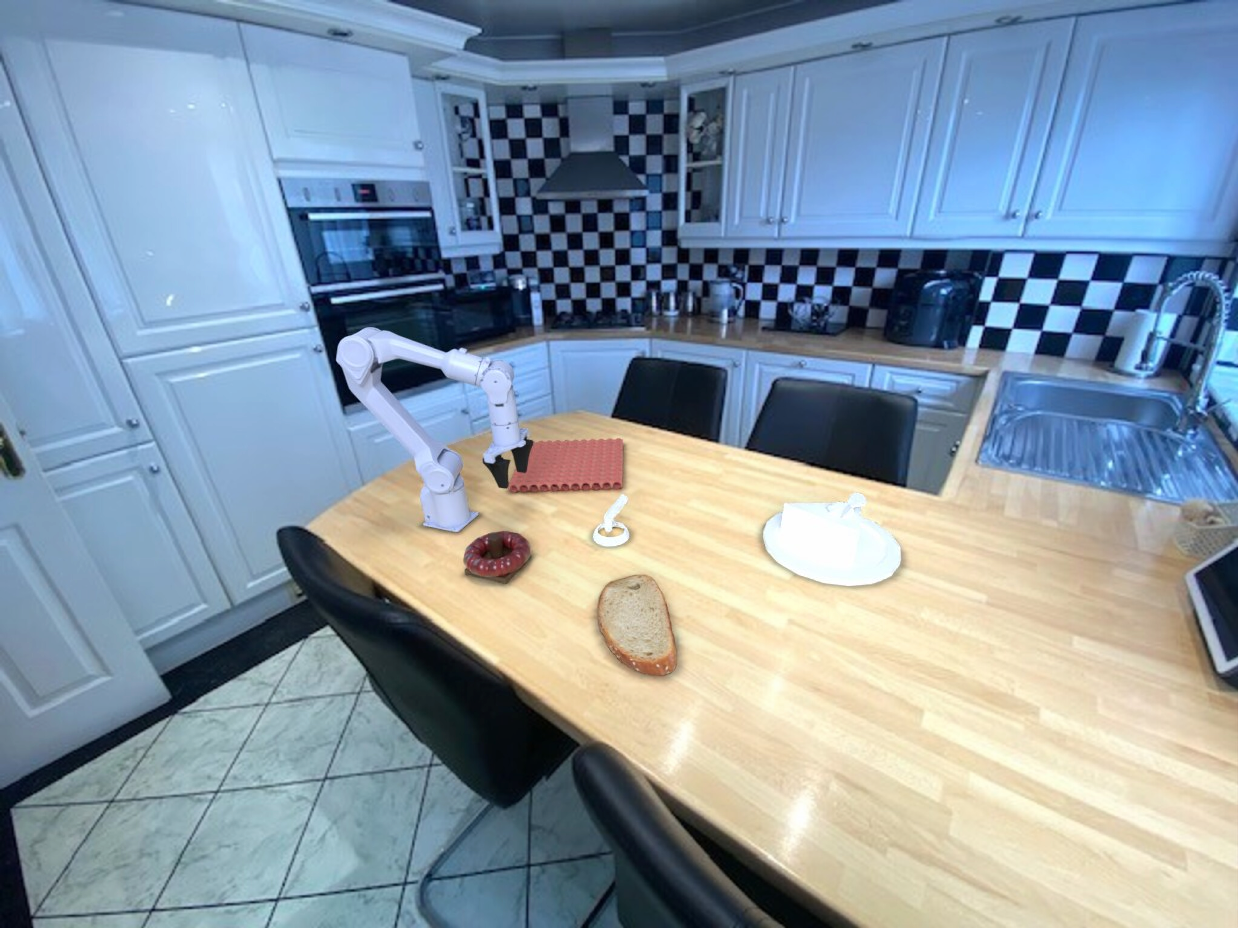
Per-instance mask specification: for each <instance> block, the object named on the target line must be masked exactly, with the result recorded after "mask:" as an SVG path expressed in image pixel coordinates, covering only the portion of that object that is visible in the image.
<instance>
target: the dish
mask: <svg viewBox="0 0 1238 928" xmlns="http://www.w3.org/2000/svg"><path fill="white" fill-rule="evenodd" d="M866 505H867V498H866V497H865V495H864V494H862V493H860V492H852V493H850V495H849V497H848V499H847V501H846V502H845V501H836V502H835V501H833V502H784V503H783V507H782V511H781V512H778V513H776V514H775V515H773V516H772V517H771V518H770V519H768V520H767V521H766V523H765V526H764V528H763V532H762V540H763V541H762V542H763V544H764V546H765V550H766V552H767V553H768V554H769V555H770V556H771V557H772V558H773V560H775V561H776V562H777V564H779V565H781V566H782V567H783V568H786V569H788V570H790V571H791V572H792V573H795V574H796V575H798V576H801V577H803V578H807V579H811V580H813V581H816V582H819V583H822V584H829V585H838V586H845V587H854V586H865V585H874V584H877V583H880V582H881V581H883V580H886V579H888V578H891V577H892V576H893V574H894V573H895V572H896V570H897V569H898V568H899V567H900V565H901V561H902V553H901V546H900V544H899V543H898V542H897V540H896V539H895V537H894V536H893V534H892V533H891V532H890V531H888V530H886V529H885V528H884V527H882V526H881V525H879V524H878V523H877V522H875V521H872V520H870V519H868V518H866V517H864V516H862V507H866Z"/></svg>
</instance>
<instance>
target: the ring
mask: <svg viewBox="0 0 1238 928" xmlns="http://www.w3.org/2000/svg"><path fill="white" fill-rule="evenodd" d="M492 533H499V534H500V535H501V541H502V547H506V548H511V549H513V551H512V552H511V553H510V554H509V555H506V556H504V557H502V558H497V559H486V558H482V555H483V554H484V553H485V552H487V551H490V549H489V543H488V536H489V535H490V534H492ZM530 553H531V543H530V541H529V540H528V539H527V538H526V537H525V536H524V535H522V534H521V533H518V532H513V531H509V530H501V531H500V530H499V531H492V532H489V533H487V534H484V535H481V536H479V537H477V538H475V539H474V540H472V542H471V543H469V544H468V546H466V548H465V550H464V553H463V560H462V561H463V565H464V566H465V568H468V569H469V570H470V572H471V573H473V574H476V575H480V576H484V577H495V576H503V575H507V574H509V573H511V572H513V571H515V570H517V569H519V568H520V567H521V566H522V565H523V564H524V563H525V562H526V561H527V562H528V561H529V559H530V558H531V557H530ZM529 557H530V558H529ZM527 562H526V563H527ZM526 563H525V564H526ZM525 564H524V565H525ZM524 565H523V566H524ZM523 566H522V567H523ZM522 567H521V568H522ZM521 568H520V569H521ZM520 569H519V570H520Z"/></svg>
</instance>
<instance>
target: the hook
mask: <svg viewBox="0 0 1238 928" xmlns="http://www.w3.org/2000/svg"><path fill="white" fill-rule="evenodd" d="M628 503H629V498H628V496H627V495H626V494H624V493H622V494H621V495H619V497H618V498H617V499H616V500H615V501H614V503H613V504H612V505H611V506H610V508H609V509H608V510H607V511H606V512H605V514H604V515H603V522H602V523H600V524H598V525H597V526H596V528H595V529H594V531H593V534H592V539H593V541H594V542H595V543H596V544H598V545H599V546H601V547H618V546H620V545H624V544H625V543H626V542H628V540H629V539H630V535H631V533H630V532H629V529H628V527H627V526H626V525H625V524H624V523H622V522H619V521H615V517H616V516H617V515H619V513H620V512H621V511H622V510H623V508H624V507H626V505H627V504H628ZM613 528H620V529H622V530H623V532H622V533H621V534H619V535H616V536H603V535H602V534H600V533H599V531H601V530H603V529H604V532H605V533H611V532H613Z"/></svg>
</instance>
